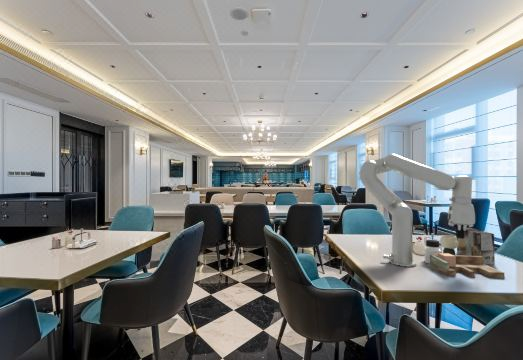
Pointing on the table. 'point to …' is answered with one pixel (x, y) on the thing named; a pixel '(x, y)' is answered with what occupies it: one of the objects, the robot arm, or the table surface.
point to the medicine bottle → (431, 249)
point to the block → (448, 258)
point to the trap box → (465, 266)
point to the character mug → (449, 243)
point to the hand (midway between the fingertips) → (460, 238)
